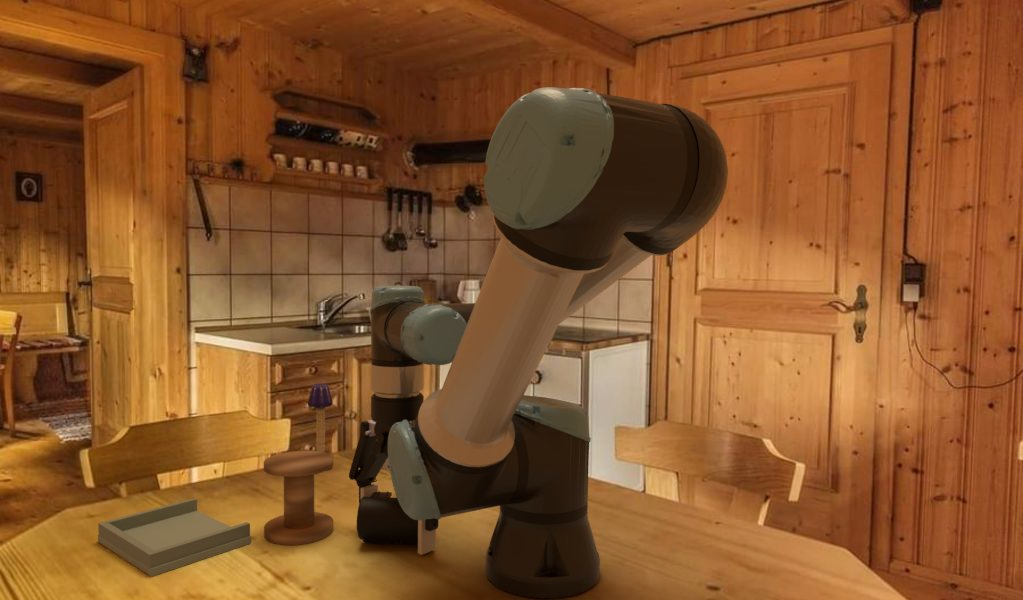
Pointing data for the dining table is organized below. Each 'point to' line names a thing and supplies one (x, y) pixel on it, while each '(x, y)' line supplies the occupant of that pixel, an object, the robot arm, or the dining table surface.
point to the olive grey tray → (170, 537)
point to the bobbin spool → (298, 498)
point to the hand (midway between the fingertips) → (396, 539)
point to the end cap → (385, 521)
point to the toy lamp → (320, 411)
